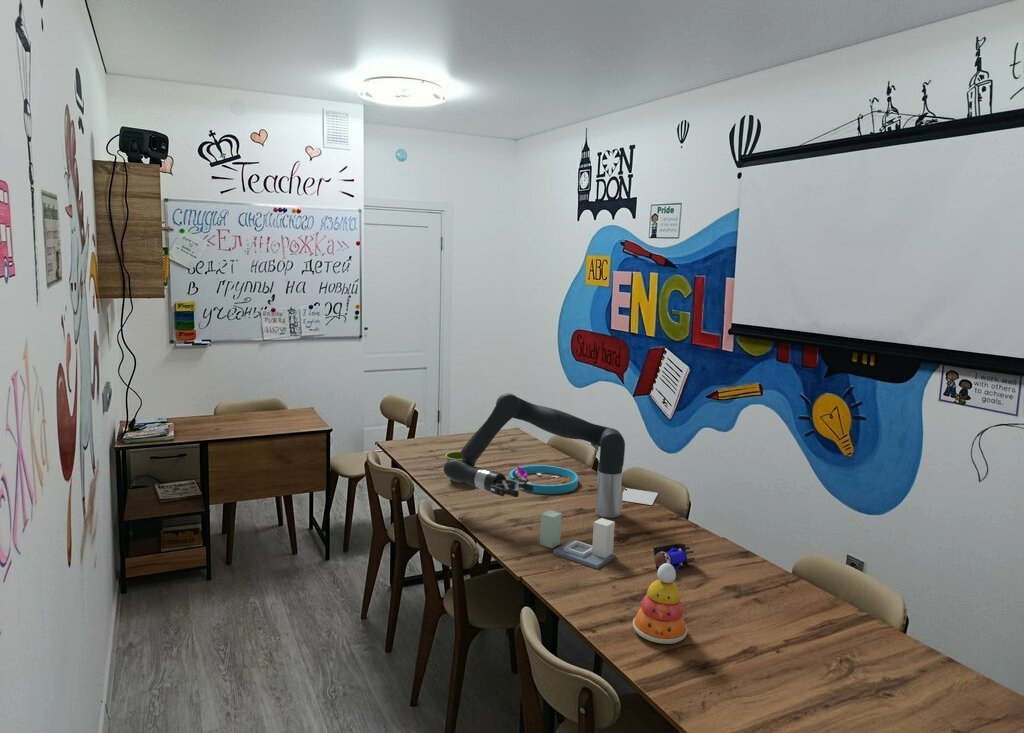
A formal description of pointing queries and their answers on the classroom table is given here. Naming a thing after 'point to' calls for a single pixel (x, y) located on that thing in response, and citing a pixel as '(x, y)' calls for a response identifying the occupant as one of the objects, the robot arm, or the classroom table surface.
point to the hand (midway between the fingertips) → (525, 491)
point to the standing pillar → (603, 538)
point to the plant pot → (454, 458)
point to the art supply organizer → (551, 489)
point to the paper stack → (639, 496)
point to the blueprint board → (582, 554)
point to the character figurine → (672, 555)
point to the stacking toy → (661, 610)
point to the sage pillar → (550, 528)
